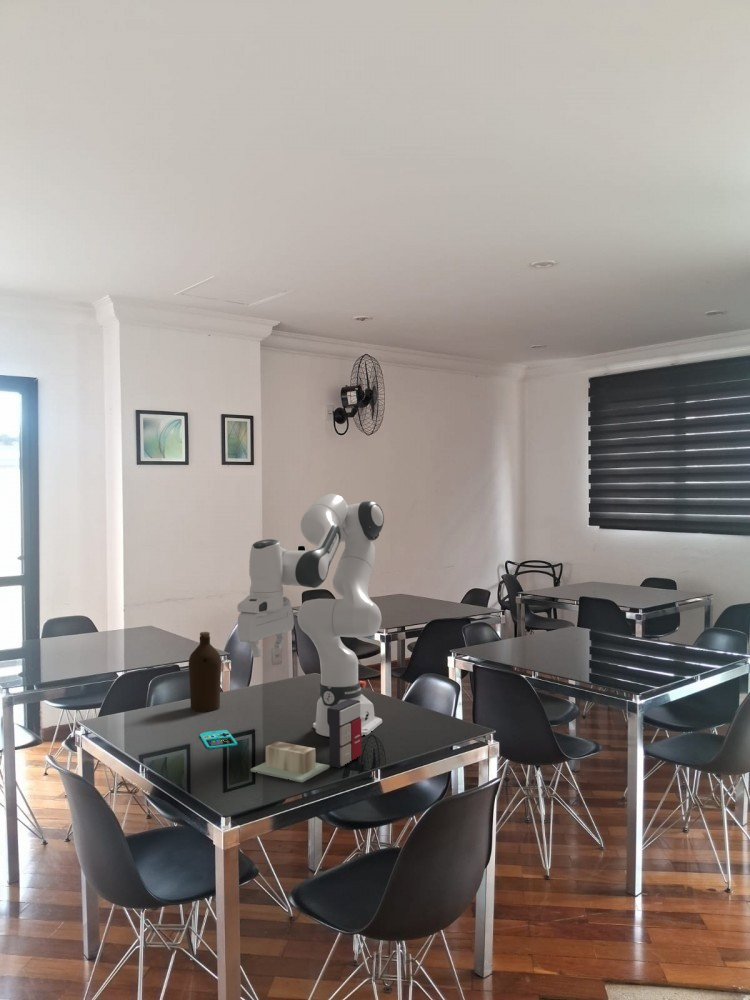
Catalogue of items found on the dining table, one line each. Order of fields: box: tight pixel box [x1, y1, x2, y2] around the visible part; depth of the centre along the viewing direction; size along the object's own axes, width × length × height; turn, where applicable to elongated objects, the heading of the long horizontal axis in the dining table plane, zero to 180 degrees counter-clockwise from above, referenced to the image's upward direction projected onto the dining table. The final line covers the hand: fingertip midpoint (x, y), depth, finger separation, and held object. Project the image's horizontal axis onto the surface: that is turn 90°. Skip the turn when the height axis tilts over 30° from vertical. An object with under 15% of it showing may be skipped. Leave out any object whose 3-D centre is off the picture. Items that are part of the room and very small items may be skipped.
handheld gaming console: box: [199, 729, 238, 750], centre depth 224 cm, size 8×1×15 cm
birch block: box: [265, 740, 317, 774], centre depth 199 cm, size 5×5×12 cm
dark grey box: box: [327, 699, 362, 769], centre depth 204 cm, size 11×4×15 cm, turn 151°
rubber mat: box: [250, 761, 331, 783], centre depth 199 cm, size 12×16×1 cm
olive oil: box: [188, 631, 222, 713], centre depth 258 cm, size 11×11×25 cm
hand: (267, 653), depth 208 cm, fingers open, 8 cm apart
